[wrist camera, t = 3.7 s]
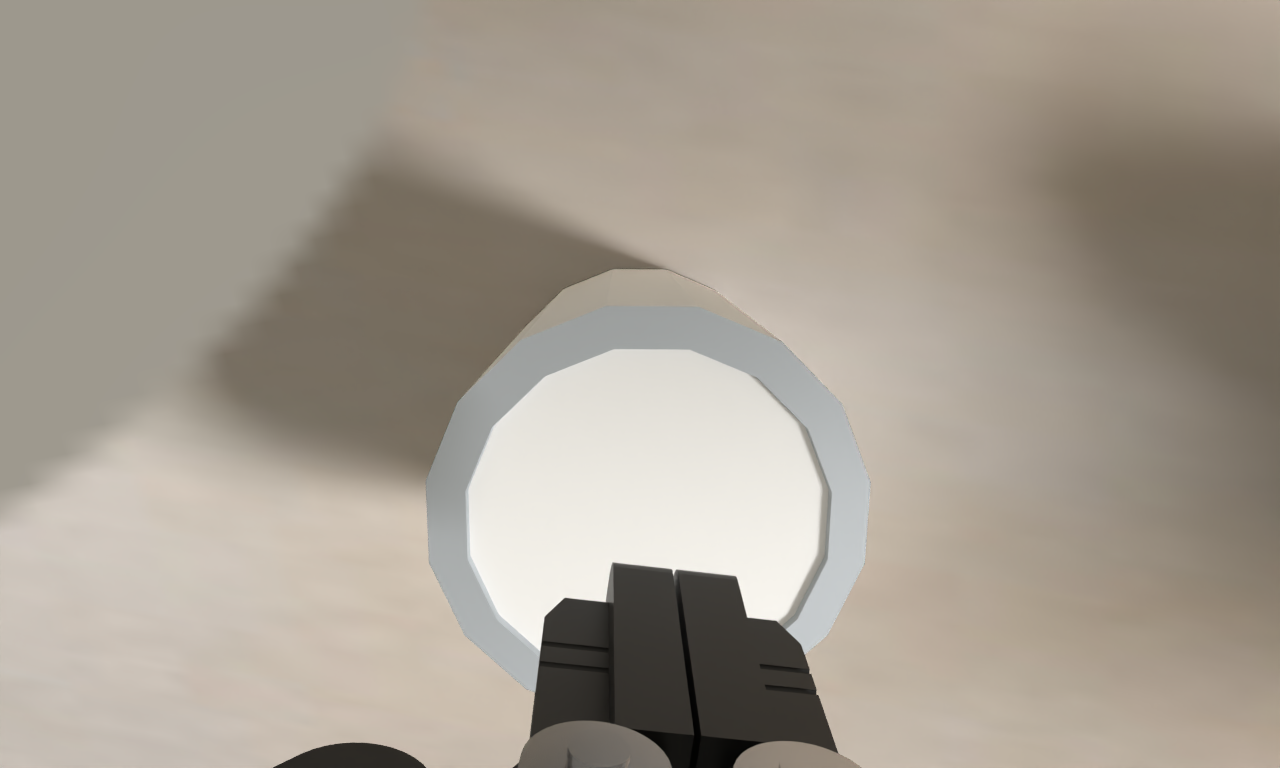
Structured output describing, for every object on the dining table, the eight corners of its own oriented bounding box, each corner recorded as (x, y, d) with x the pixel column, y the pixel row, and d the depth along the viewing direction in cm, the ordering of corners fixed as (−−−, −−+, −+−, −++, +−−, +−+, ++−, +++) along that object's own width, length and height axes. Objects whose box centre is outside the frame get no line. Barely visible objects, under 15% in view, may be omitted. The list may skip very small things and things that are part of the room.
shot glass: (772, 208, 23) (841, 263, 16) (819, 516, 24) (899, 684, 18) (443, 270, 23) (372, 352, 16) (514, 571, 25) (477, 759, 18)
